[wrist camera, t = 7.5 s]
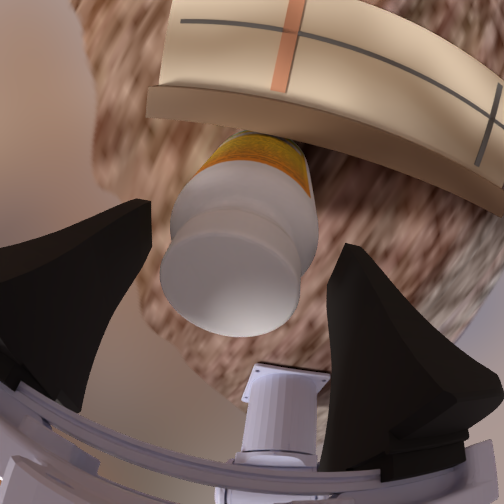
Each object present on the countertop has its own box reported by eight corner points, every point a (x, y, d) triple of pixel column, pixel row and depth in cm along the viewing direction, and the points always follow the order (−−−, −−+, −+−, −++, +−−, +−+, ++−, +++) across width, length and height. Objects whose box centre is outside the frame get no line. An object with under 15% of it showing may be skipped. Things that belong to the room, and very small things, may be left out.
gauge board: (483, 200, 14) (501, 218, 12) (165, 110, 14) (145, 117, 12) (517, 99, 9) (540, 107, 7) (186, -17, 9) (169, -29, 7)
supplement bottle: (199, 145, 15) (102, 237, 7) (291, 113, 13) (295, 173, 5) (234, 223, 18) (190, 356, 10) (319, 202, 16) (339, 338, 8)
